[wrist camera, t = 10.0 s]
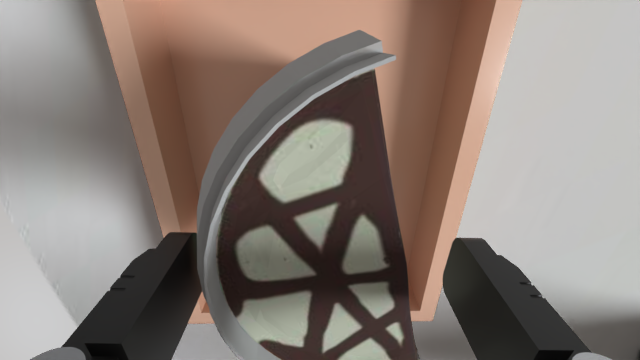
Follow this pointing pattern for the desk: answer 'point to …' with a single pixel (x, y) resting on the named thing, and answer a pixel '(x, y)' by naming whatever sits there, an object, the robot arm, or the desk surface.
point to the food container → (307, 217)
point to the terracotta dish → (286, 46)
